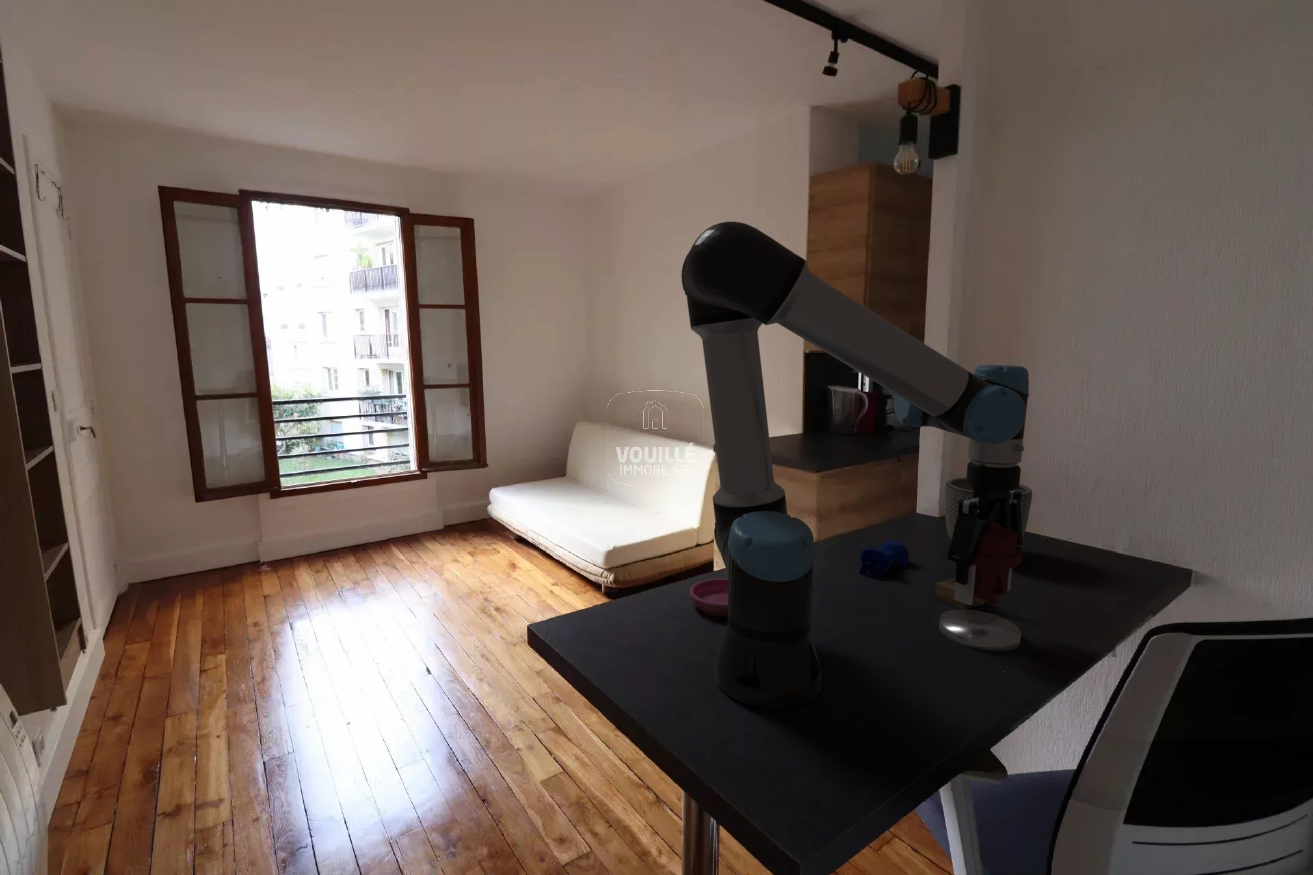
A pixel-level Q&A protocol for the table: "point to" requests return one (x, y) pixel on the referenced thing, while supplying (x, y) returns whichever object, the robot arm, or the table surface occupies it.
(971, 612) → the grey round disc
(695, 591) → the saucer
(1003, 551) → the mechanical component
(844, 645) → the table surface
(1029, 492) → the planter
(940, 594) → the brown wooden peg block
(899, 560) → the toy
